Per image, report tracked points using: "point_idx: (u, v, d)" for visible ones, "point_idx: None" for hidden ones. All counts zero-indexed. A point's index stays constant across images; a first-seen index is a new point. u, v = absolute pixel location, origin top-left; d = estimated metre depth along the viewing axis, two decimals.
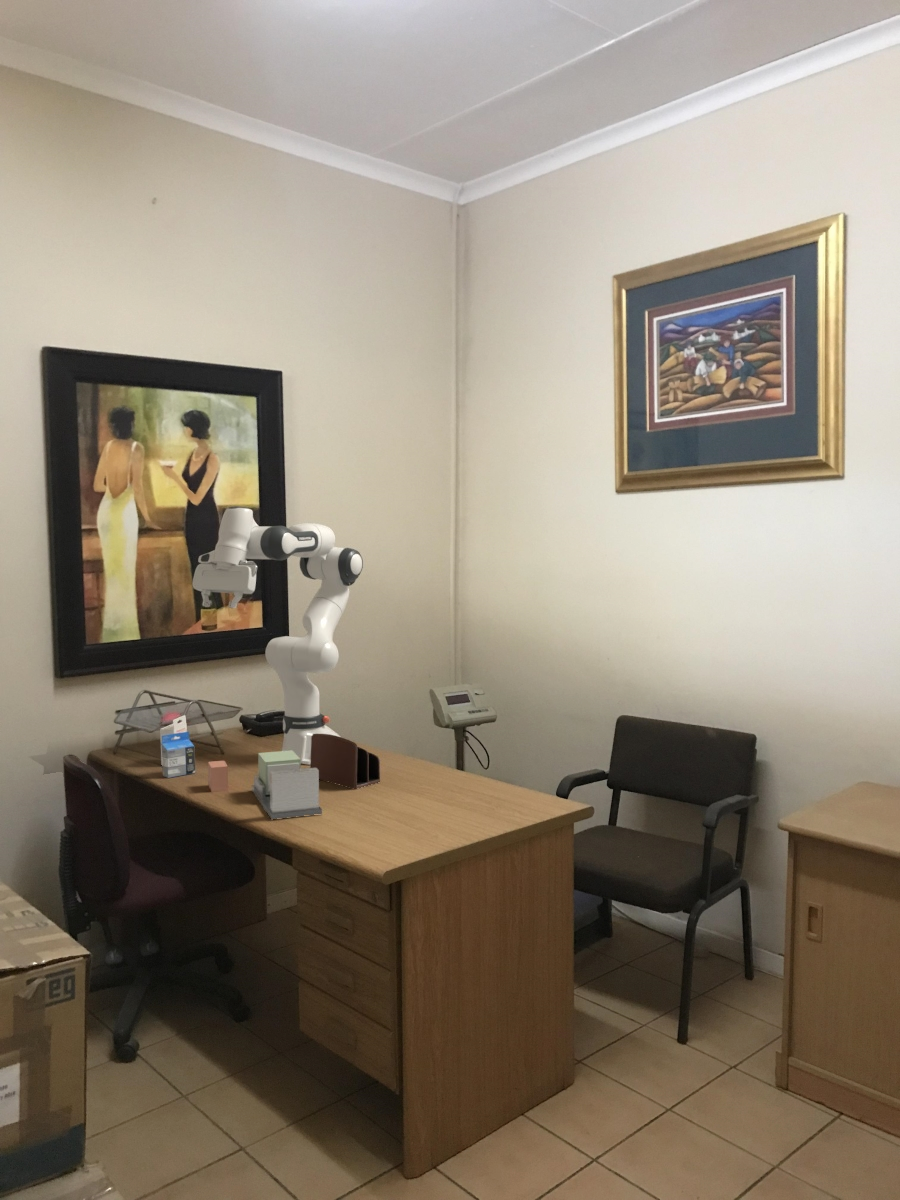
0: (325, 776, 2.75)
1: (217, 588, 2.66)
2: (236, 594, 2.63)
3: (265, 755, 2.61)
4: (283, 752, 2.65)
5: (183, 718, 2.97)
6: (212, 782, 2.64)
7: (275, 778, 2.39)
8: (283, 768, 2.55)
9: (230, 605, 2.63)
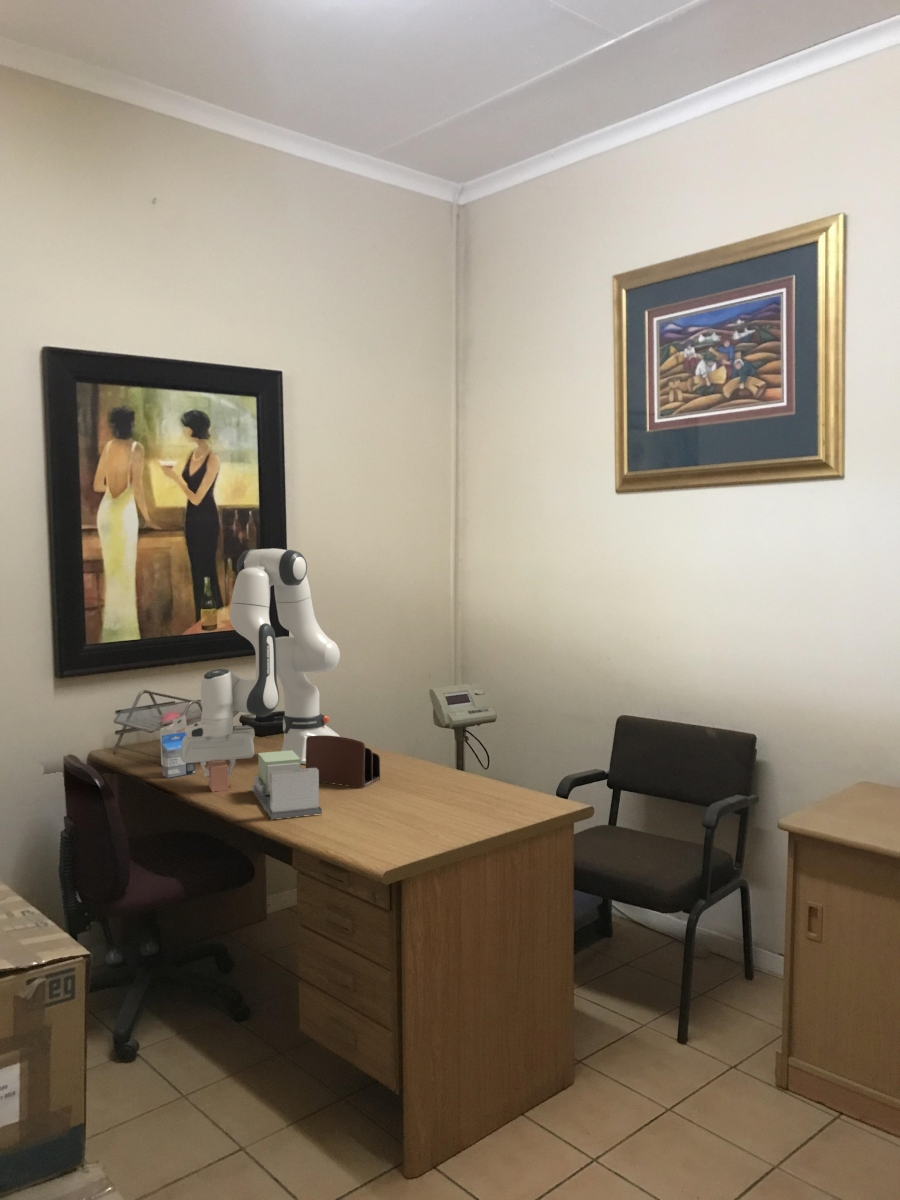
0: (325, 778, 2.73)
1: (216, 759, 2.65)
2: (234, 762, 2.68)
3: (265, 755, 2.61)
4: (283, 752, 2.65)
5: (183, 718, 2.97)
6: (212, 782, 2.64)
7: (275, 778, 2.39)
8: (283, 768, 2.55)
9: (228, 773, 2.68)
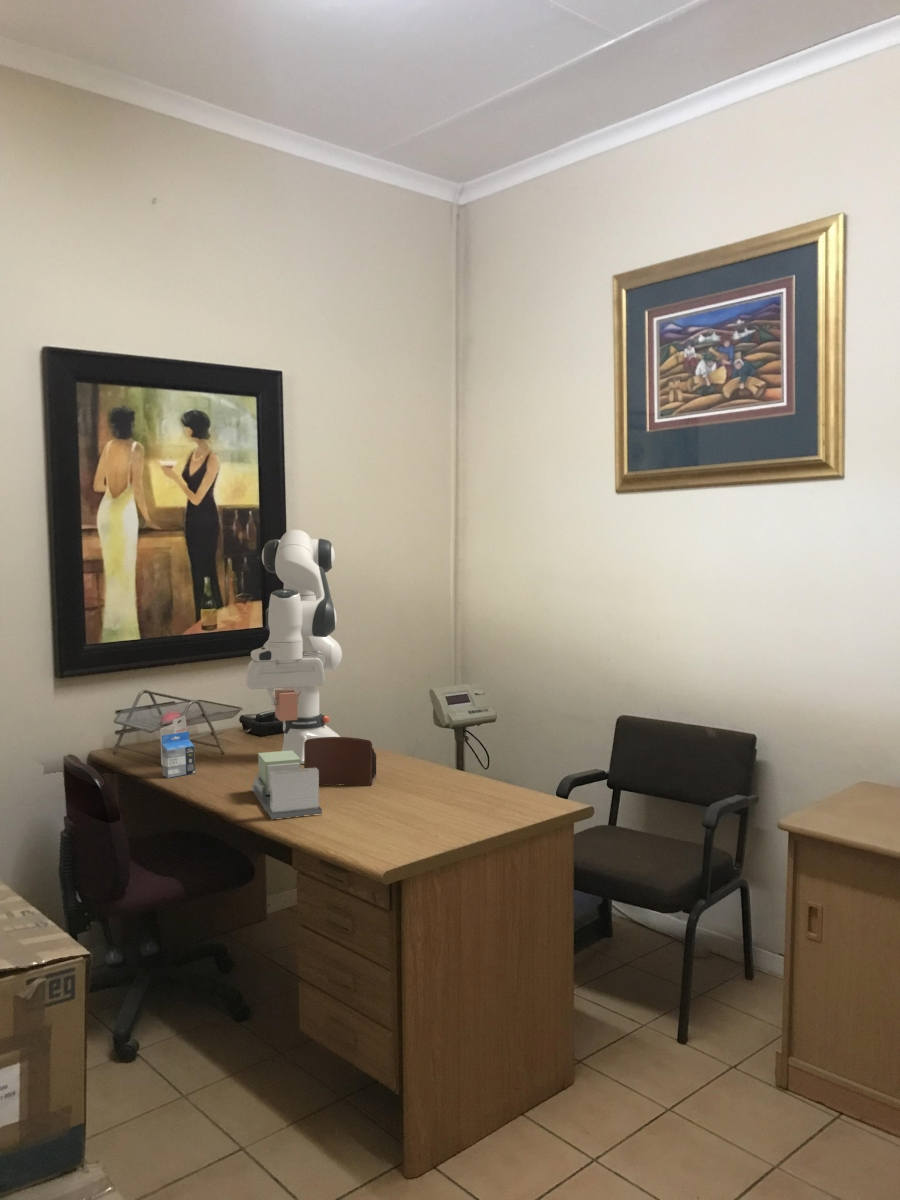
0: (327, 780, 2.71)
1: (285, 686, 2.45)
2: (303, 689, 2.48)
3: (265, 755, 2.61)
4: (283, 752, 2.65)
5: (183, 718, 2.97)
6: (281, 710, 2.43)
7: (275, 778, 2.39)
8: (283, 768, 2.55)
9: (297, 702, 2.47)
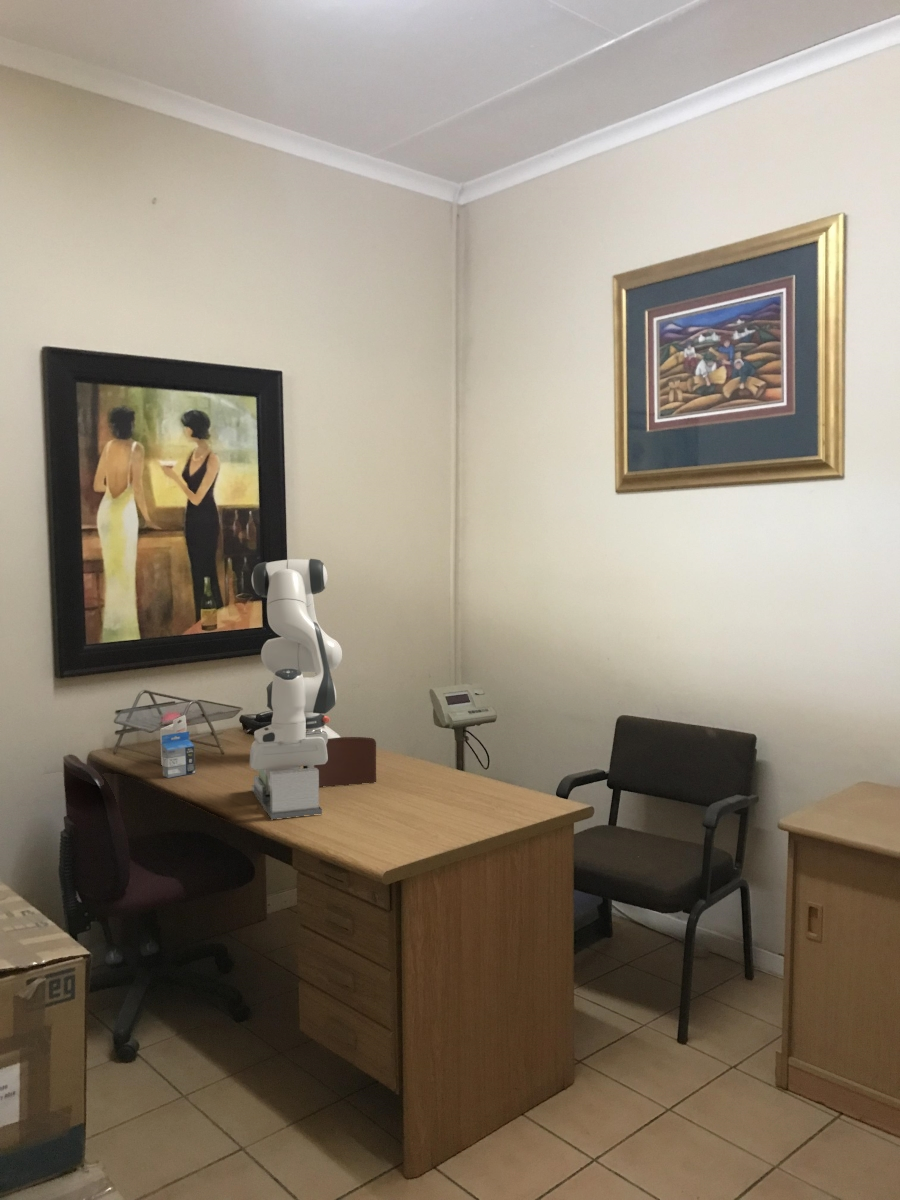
0: (332, 781, 2.70)
1: (288, 766, 2.46)
2: None
3: None
4: None
5: (183, 718, 2.97)
6: None
7: (275, 778, 2.39)
8: (283, 768, 2.55)
9: None
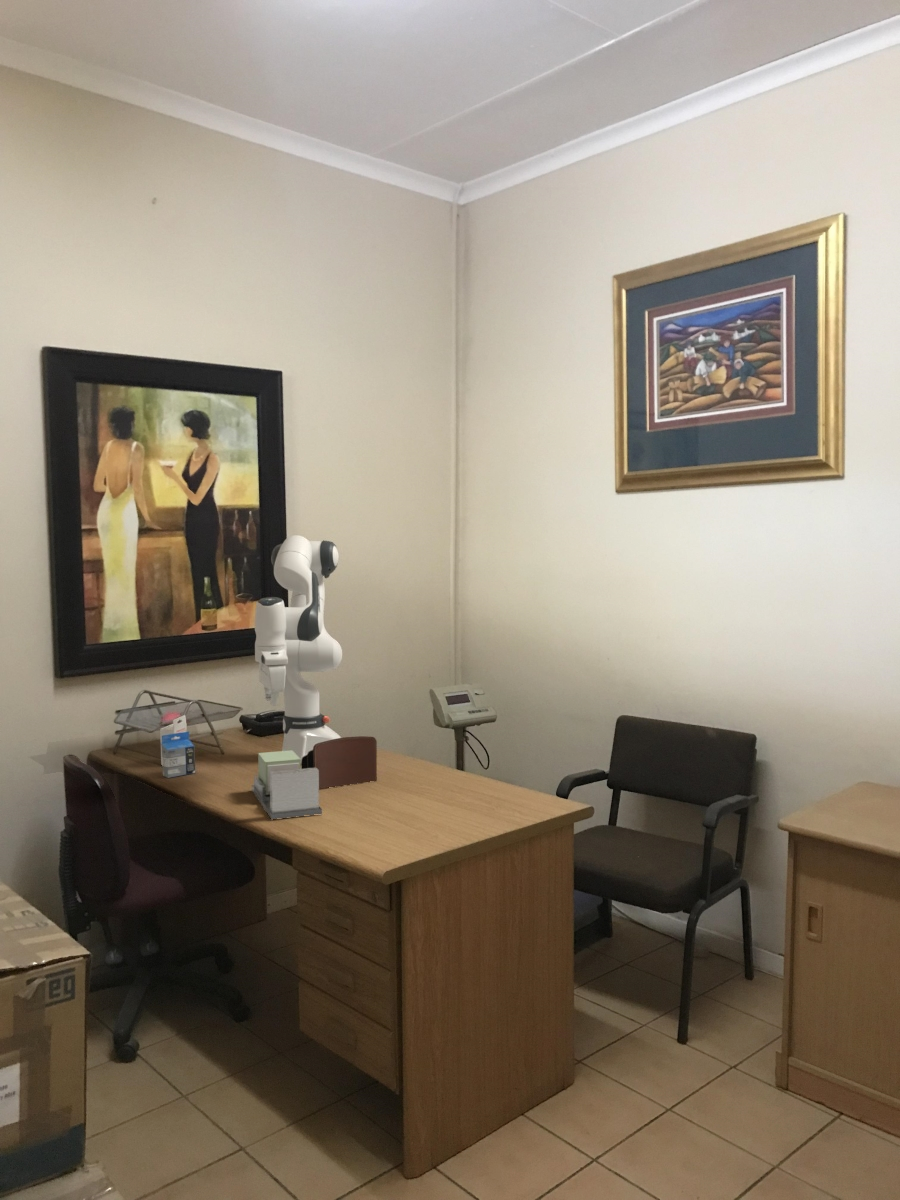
0: (336, 782, 2.69)
1: None
2: None
3: (265, 755, 2.61)
4: (283, 752, 2.65)
5: (183, 718, 2.97)
6: None
7: (275, 778, 2.39)
8: (283, 768, 2.55)
9: None
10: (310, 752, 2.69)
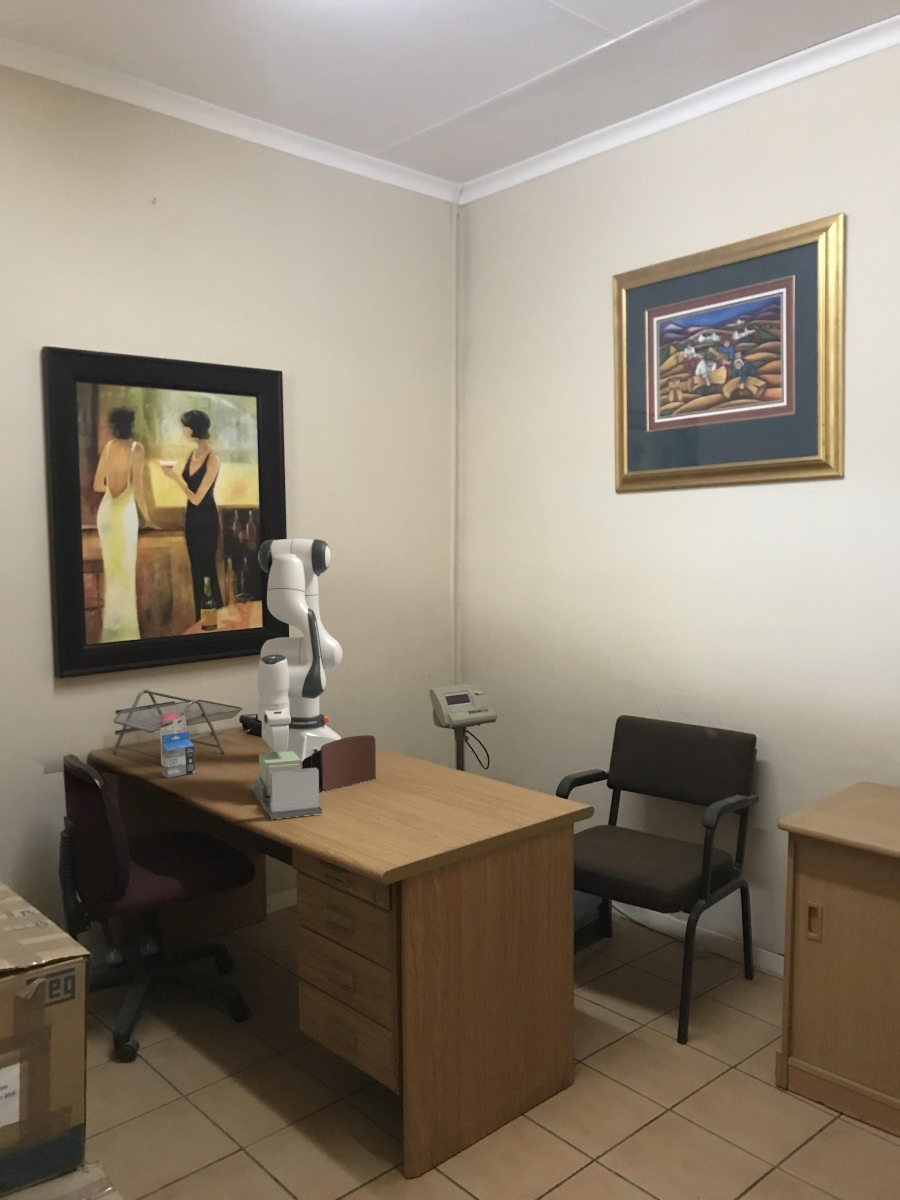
0: (341, 782, 2.69)
1: None
2: None
3: (266, 756, 2.60)
4: (284, 753, 2.64)
5: (183, 718, 2.97)
6: None
7: (275, 778, 2.39)
8: (284, 769, 2.54)
9: None
10: (314, 754, 2.67)
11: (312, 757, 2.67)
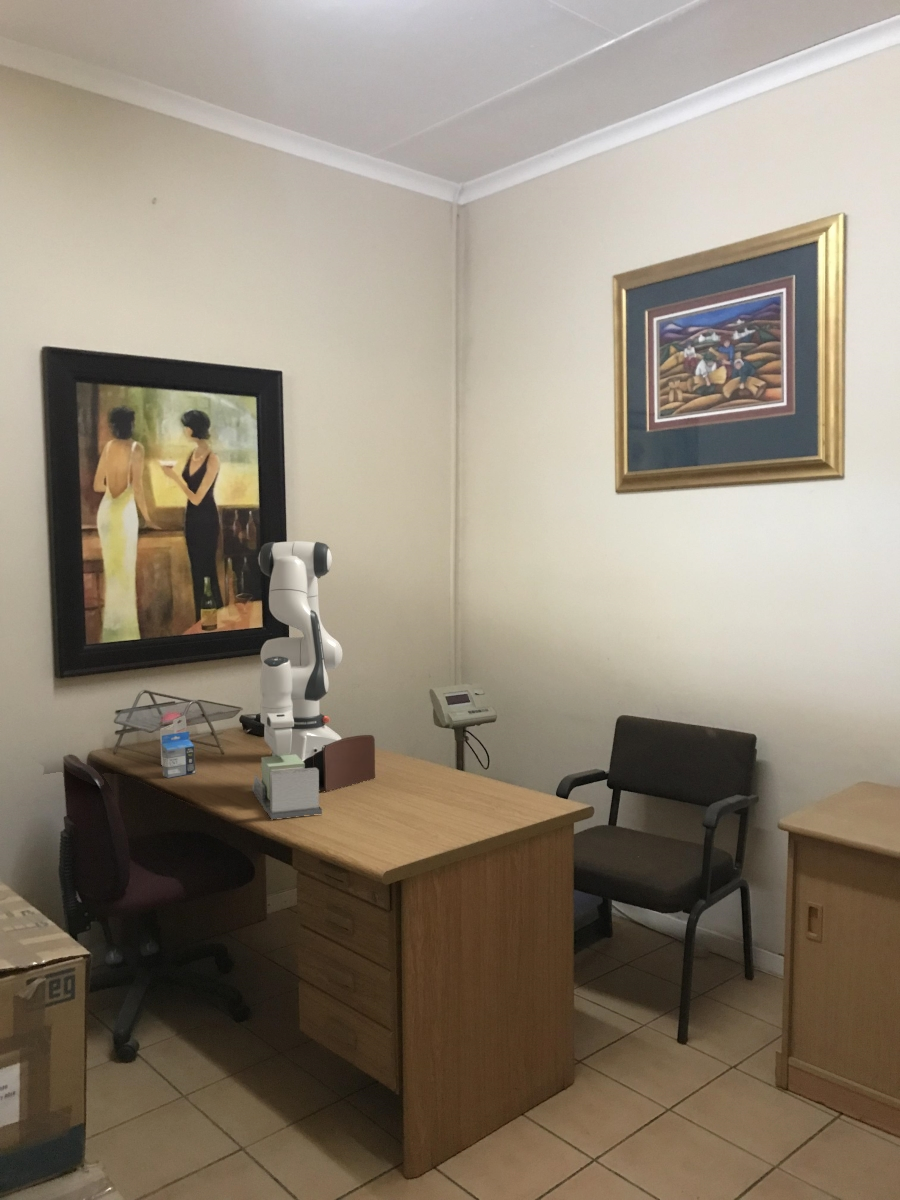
0: (343, 782, 2.69)
1: None
2: None
3: (268, 759, 2.57)
4: (287, 756, 2.60)
5: (183, 718, 2.97)
6: None
7: (275, 778, 2.39)
8: None
9: None
10: (316, 754, 2.67)
11: (314, 758, 2.66)
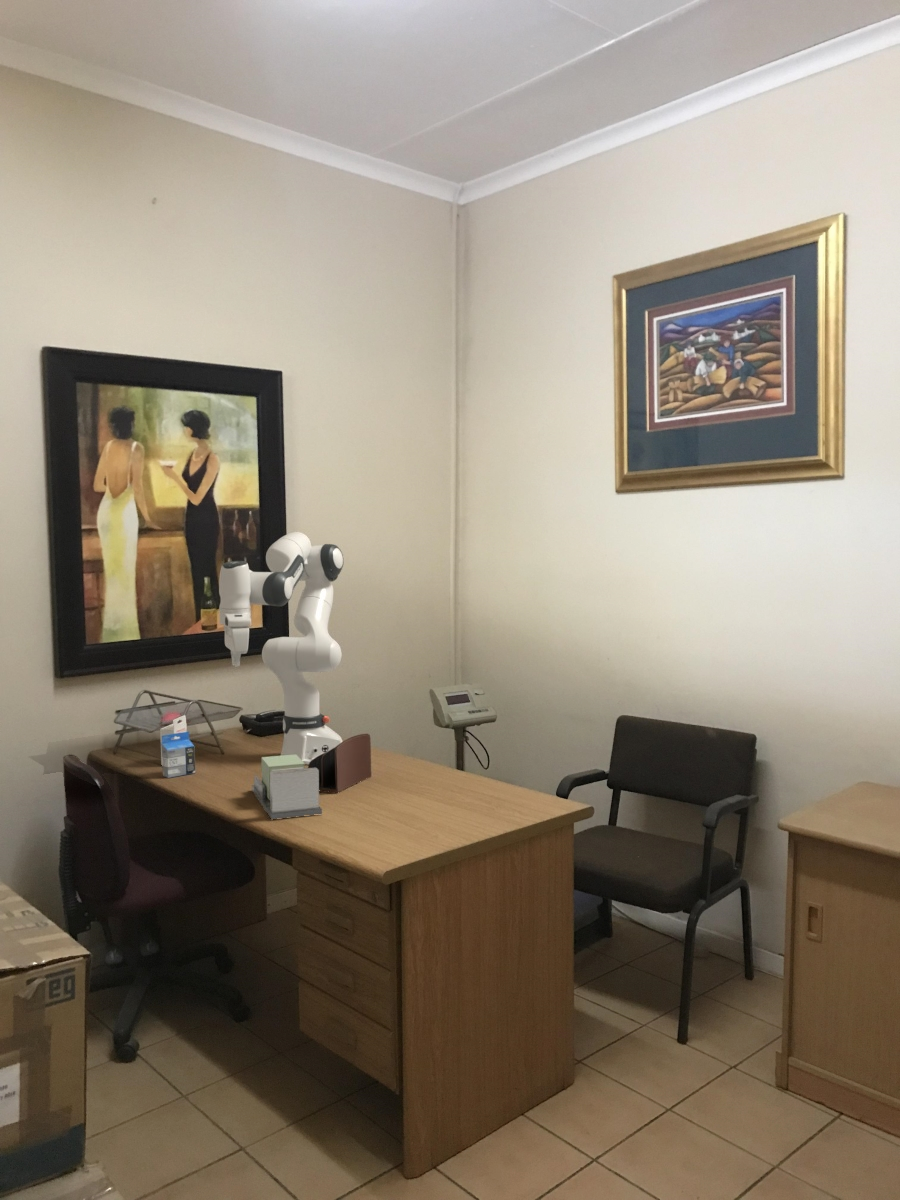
0: (349, 782, 2.69)
1: None
2: None
3: (268, 759, 2.56)
4: (287, 756, 2.60)
5: (183, 718, 2.97)
6: None
7: (275, 778, 2.39)
8: None
9: None
10: (324, 756, 2.65)
11: (322, 759, 2.64)
